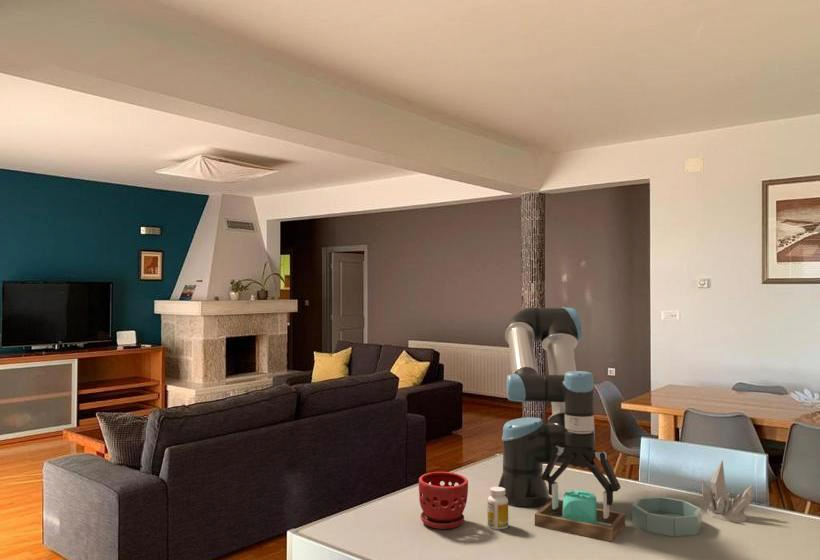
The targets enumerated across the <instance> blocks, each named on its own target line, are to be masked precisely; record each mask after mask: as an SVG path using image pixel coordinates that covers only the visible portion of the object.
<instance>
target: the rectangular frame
mask: <svg viewBox="0 0 820 560" xmlns="http://www.w3.org/2000/svg"><path fill="white" fill-rule="evenodd" d="M553 514H561V515H563V501H560V500H558V507H557V508H556V509H552V500H550V501H548V502H547V503H546V504H544V506H543V507H541V508H540V509H539V510H538V511H536V512H535V513H534V526H536V527H540V528H545V529H550V530H554V531H560V532H563V533H568V534H573V535H579V536H582V537H589V538H592V539H599V540H603V541H606V542H607V541H608V542H613V541H614V540H615V538H617V536H618V535H619V534H620V533H621V531H622V530H623V528H624V527H625V526H626V513H624V512H619V511H614V510H609V517H608V518H607V519H605V518H603V509H602V508H598V507H597V519H596V522H602V523H606V524H610V525H609V526H604V525H599V524H596V525H595V524H590V523H585V522H580V521H575V520H570V519H565V518H563V517H559V516H555V515H554V516H553Z"/></svg>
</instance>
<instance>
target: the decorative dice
mask: <svg viewBox="0 0 820 560" xmlns="http://www.w3.org/2000/svg"><path fill="white" fill-rule="evenodd" d="M562 502H563V514H562V518H565V519H570V520H575V521H580V522H585V523H590V524H595V525H597V521H596V519H597V508H598V506H597V505H598V504H597V496H596V495H595V494H593V493H592V492H589V491H585V490H579V489H577V490H576V489H575V490H574V489H573V490H569V491H566V492H565V493H564V494H563V500H562Z"/></svg>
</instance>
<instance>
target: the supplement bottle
mask: <svg viewBox="0 0 820 560" xmlns="http://www.w3.org/2000/svg"><path fill="white" fill-rule="evenodd" d="M489 494H490V495H489V496H488V497H487V527H489V528H491V529H494V530H504V529H508V527H509V504H508V499H507V497H505V488H503V487H498V486H492V487H490V488H489Z"/></svg>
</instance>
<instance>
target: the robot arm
mask: <svg viewBox="0 0 820 560" xmlns="http://www.w3.org/2000/svg"><path fill="white" fill-rule="evenodd" d="M581 322H582V321H581V318H580V315H579V313H578V311H577V309H575V308H572V307H565V306H561V307H532V306H530V307H525V308H523V309H520V310H519V311H517V312H515V313H514V314H513V315H512V316H510V318H509V319H508V321H507V322H506V324H505V327H504V339H505V341H506V343H507V345H508V346H509V347H508V348H509V355H510V356H509V357H510V366H511V367H510V368H511V374H508V375H506V397H507V400H508V401H511V402H520V403H523V402H528V403H529V402H537V403H539V402H540V403H543V402H545V403H550V404H551V415H550V416H549V417H548V418H547V423H544V421H543V419H542V418H540V417H532V416H531V417H529V416H527V417H520V418H515V419H511V420H508V421H506V423H504V425H503V427H502V436H501V440H502V473H501V477H500V479H499V482H498V486H497V487H503V488H505V497H507V499H508V506H517V507H529V508H530V507H538V506H543V505H547V504H548V503H549V502H550V501H549V500H550V496H551V501H552V509H556V508H557V507H558V501H559V482H558V481H557V479H558V478H559V477H560V476H561V475H562V474H563V472H565V471H566V469H567V468H568V467H569V466H570V465H571V466H572V467H576V468H577V467H580V468H583V469H586V468H587V469H588V470H589V471H591V473H592V474H593V475H594V477H595V478H596V480H597V481H598V483H600V485H601V486H602V488H603V489H604V491H603V492H602V496H603V497H602V499H603V500H602V504H603V507H602V508H603V518H605V519H607V518H608V517H609V511H610V506H612V505H613V503H614V492H618V491H619V490H620V489H621V485H620V482H619V480H618V478H617V477H616V474H615V472H614V470H613V468H612V466H611V464H610V461H609V460H608V459H609V458H608V452H607V451H605V450H604V451H602V452H601V451H599V452H596V449H595V441H596V440H595V439H596V438H595V437H596V435H595V434H596V433H595V412H594V410H595V406H594V405H595V401H594V399H595V398H594V396H595V395H594V393H595V391H594V390H595V389H594V388H595V383H594V374H593V373H592V372H590V371H584V370H577V367H576V366H577V365H576V360H575V359H576V358H575V352H574V351H575V349H576V347H577V346H578V343H580V342H581V340H582V334H583V333H582V327H581V326H582V324H581ZM534 343H541V347H542V349H544V351H546V356H547V366H548V367H547V368H548V374H539V368H538V364H537V359H536V353H535V348H534ZM596 458H597V459H598V461H599V462H600V464H601V466H602V468H603V470H604V473H605V475H606V476H605V475H604V473H603V472H602V470H601V469H600V468H599V467H598V464H597V463H596V462H595V459H596ZM546 464H547V465H546ZM543 465H546V467H545V469H544V471H543V468H544V467H543ZM556 465H560V466H559V467H558V468H557V469H556V471H555V472H554V473H553V474H552V472H553V469H554V467H555V466H556ZM551 474H552V475H551ZM547 483H548V486H547Z"/></svg>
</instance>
